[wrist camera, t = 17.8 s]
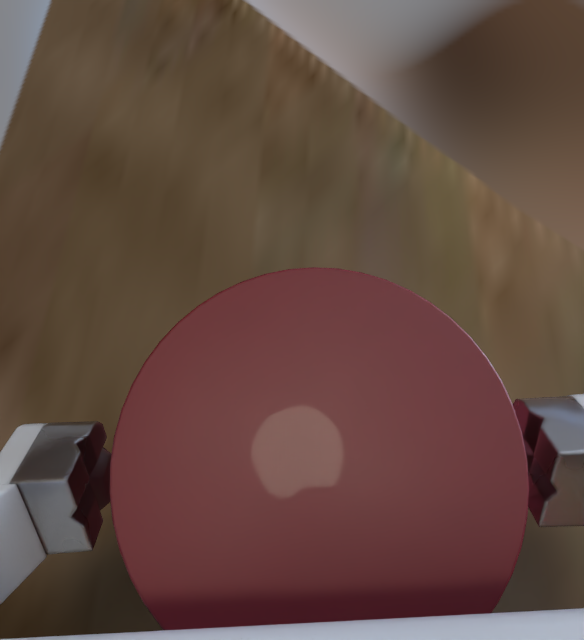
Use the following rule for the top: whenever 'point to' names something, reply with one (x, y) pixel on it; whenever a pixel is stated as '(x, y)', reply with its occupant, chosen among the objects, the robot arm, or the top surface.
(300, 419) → the hat
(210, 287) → the top surface
